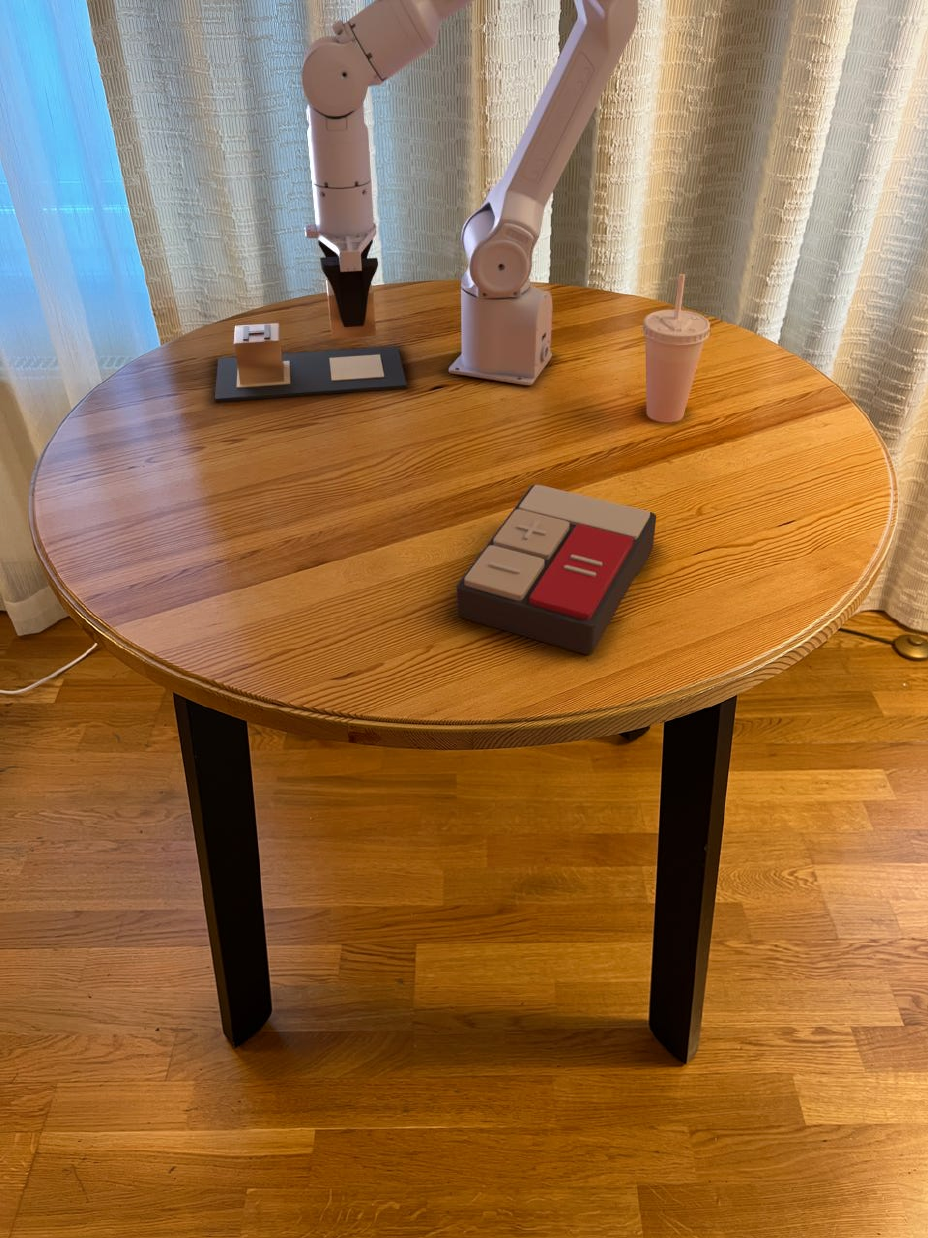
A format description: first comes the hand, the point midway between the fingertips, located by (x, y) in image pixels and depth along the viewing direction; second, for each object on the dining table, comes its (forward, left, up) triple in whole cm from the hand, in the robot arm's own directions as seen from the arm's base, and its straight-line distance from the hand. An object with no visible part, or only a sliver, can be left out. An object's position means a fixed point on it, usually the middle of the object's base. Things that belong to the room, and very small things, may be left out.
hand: (352, 315), depth 107 cm
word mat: (+4, +2, -6) cm, 8 cm away
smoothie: (-34, -2, -6) cm, 34 cm away
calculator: (-32, +29, -6) cm, 44 cm away
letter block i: (0, 0, -1) cm, 1 cm away
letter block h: (+9, +5, -6) cm, 12 cm away
